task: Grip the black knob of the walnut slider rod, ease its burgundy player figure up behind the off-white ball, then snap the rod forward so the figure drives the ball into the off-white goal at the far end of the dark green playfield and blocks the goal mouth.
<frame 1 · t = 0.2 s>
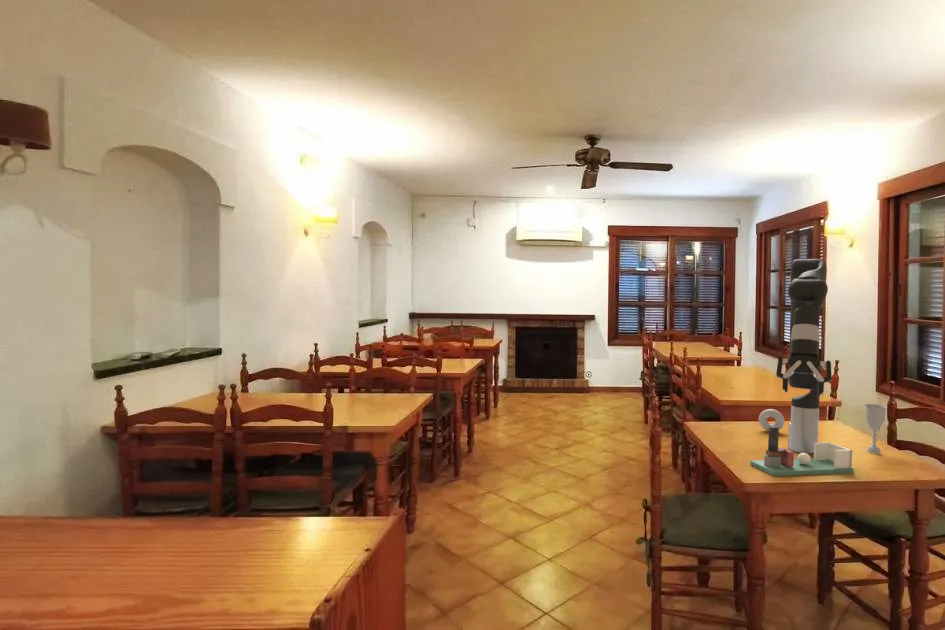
hand: (802, 393, 168), 31 cm above the table, tool tilted 20°, fingers open, 8 cm apart
playfield: (801, 468, 195), on the table
donut: (770, 432, 246), on the table
chalice: (873, 452, 216), on the table
slider rod: (778, 445, 193), point 8 cm above the table, slide at 0.0 cm
ball: (804, 458, 195), point 3 cm above the table, touching playfield
goal: (832, 467, 197), resting on playfield
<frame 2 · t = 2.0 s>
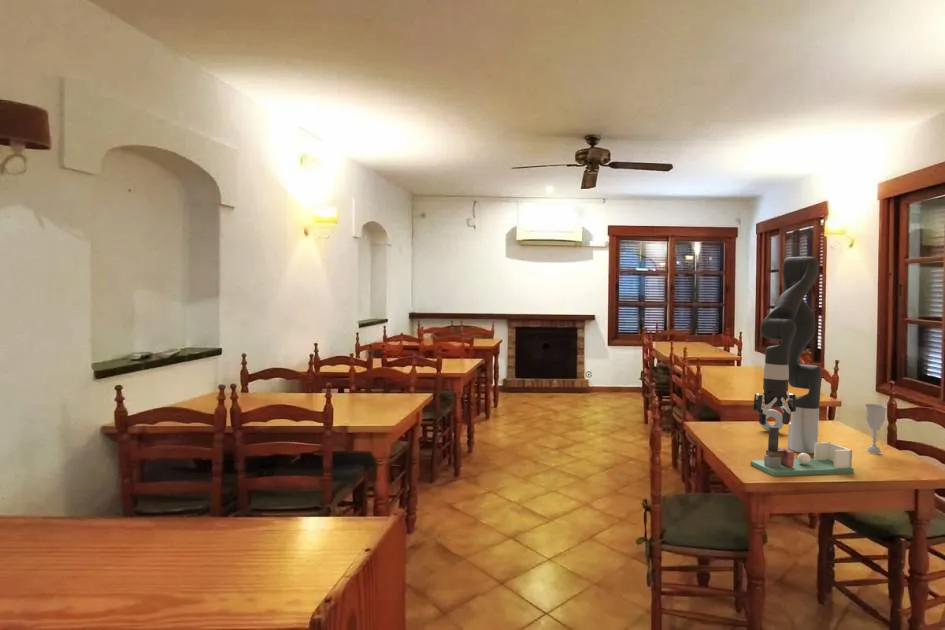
hand: (773, 424, 193), 16 cm above the table, tool pointing down, fingers open, 8 cm apart
nothing on the table moved.
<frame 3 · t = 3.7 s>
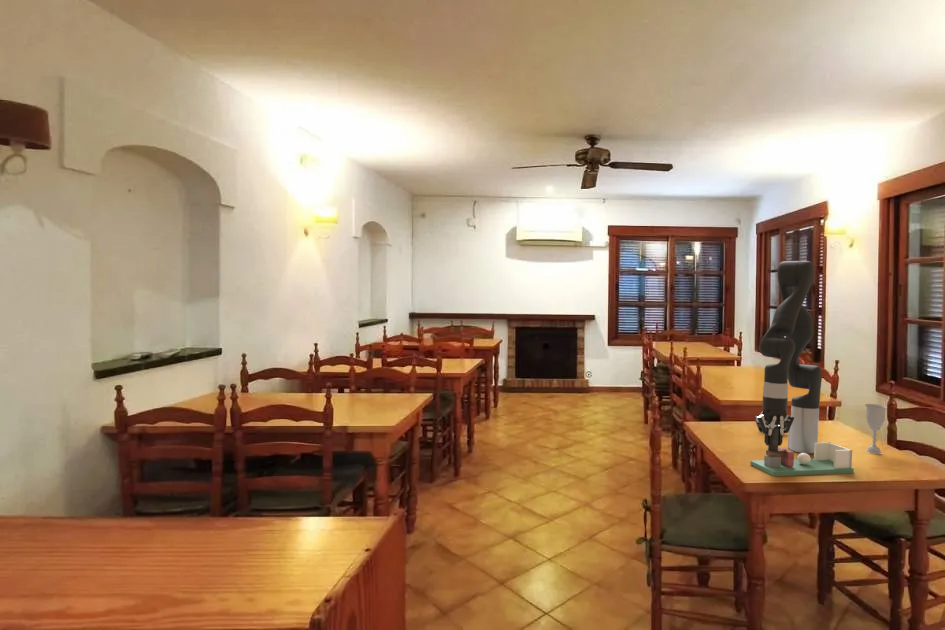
hand: (773, 445, 193), 9 cm above the table, tool pointing down, fingers closed on slider rod, 3 cm apart
slider rod: (778, 445, 193), point 8 cm above the table, slide at 0.0 cm, touching gripper
everything else where it was.
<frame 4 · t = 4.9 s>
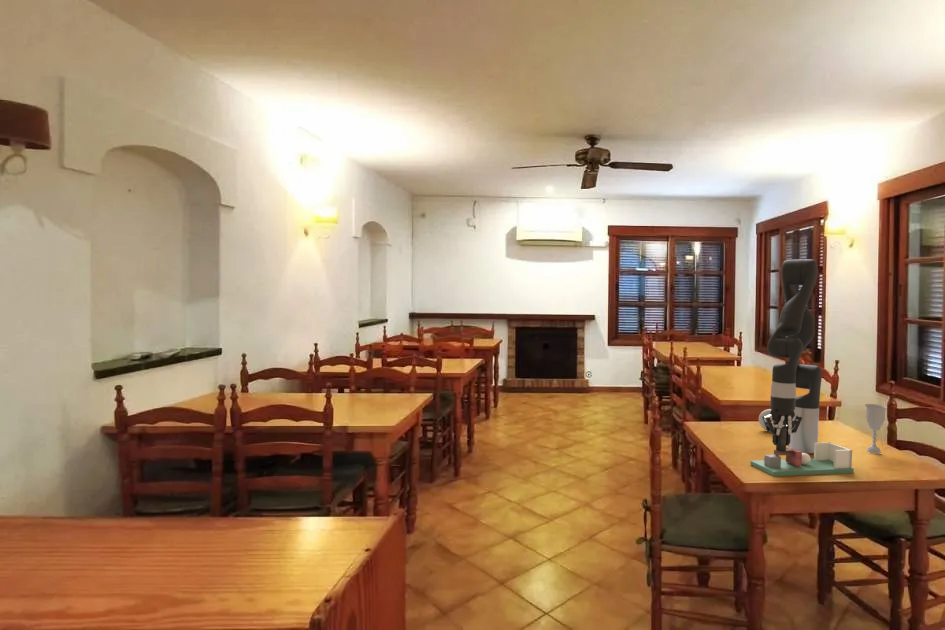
hand: (781, 444, 194), 9 cm above the table, tool pointing down, fingers closed on slider rod, 3 cm apart
slider rod: (786, 445, 194), point 8 cm above the table, slide at 3.0 cm, touching gripper
everything else where it was.
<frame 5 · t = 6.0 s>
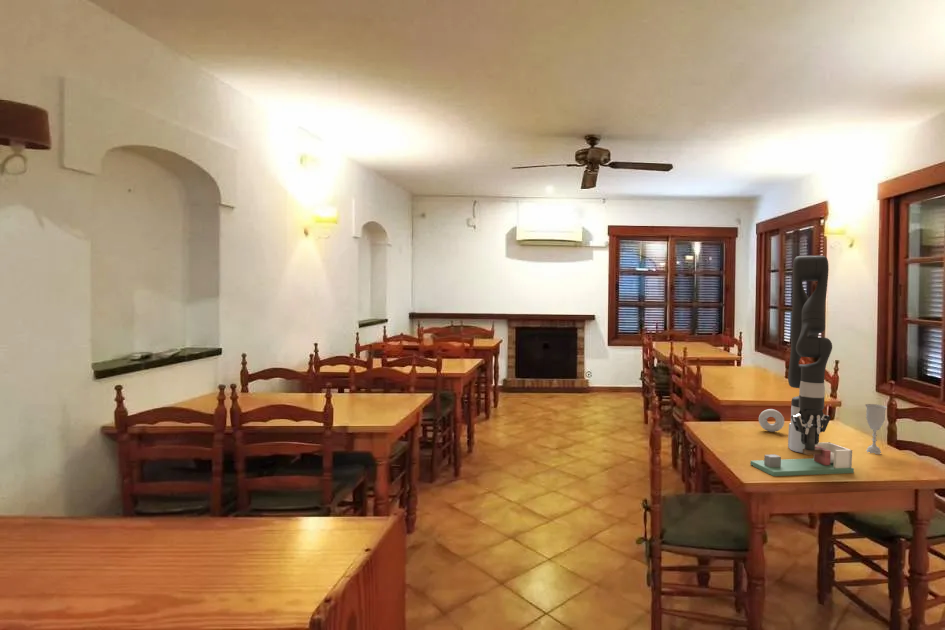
hand: (809, 443, 195), 9 cm above the table, tool pointing down, fingers closed on slider rod, 3 cm apart
slider rod: (815, 444, 196), point 8 cm above the table, slide at 14.0 cm, touching gripper
ball: (830, 457, 197), point 3 cm above the table, tilted 76°, touching playfield
everything else where it was.
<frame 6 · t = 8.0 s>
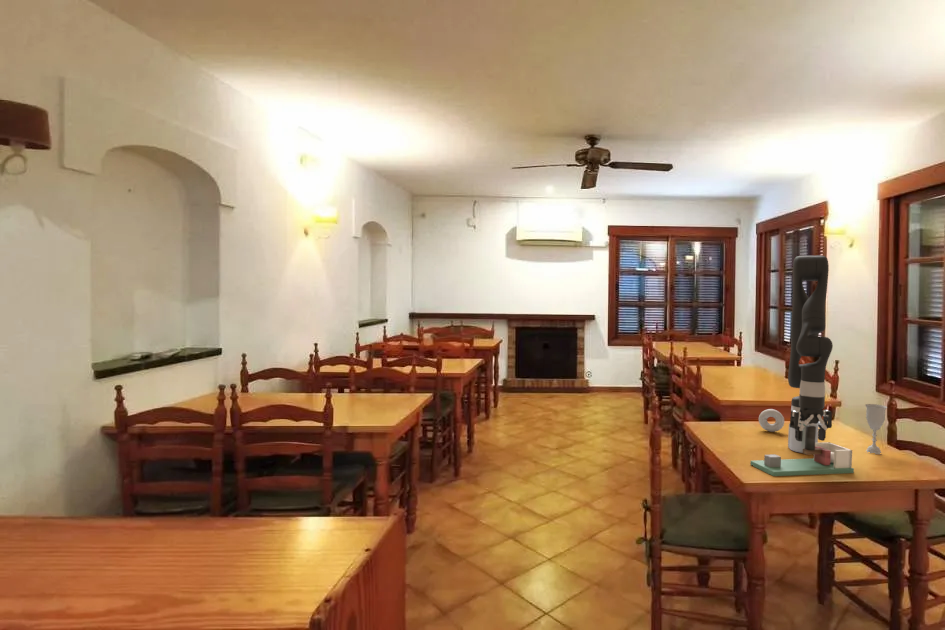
hand: (810, 440, 195), 10 cm above the table, tool pointing down, fingers open, 8 cm apart
slider rod: (815, 444, 196), point 8 cm above the table, slide at 14.0 cm
ball: (832, 457, 197), point 3 cm above the table, tilted 54°, touching playfield
everything else where it was.
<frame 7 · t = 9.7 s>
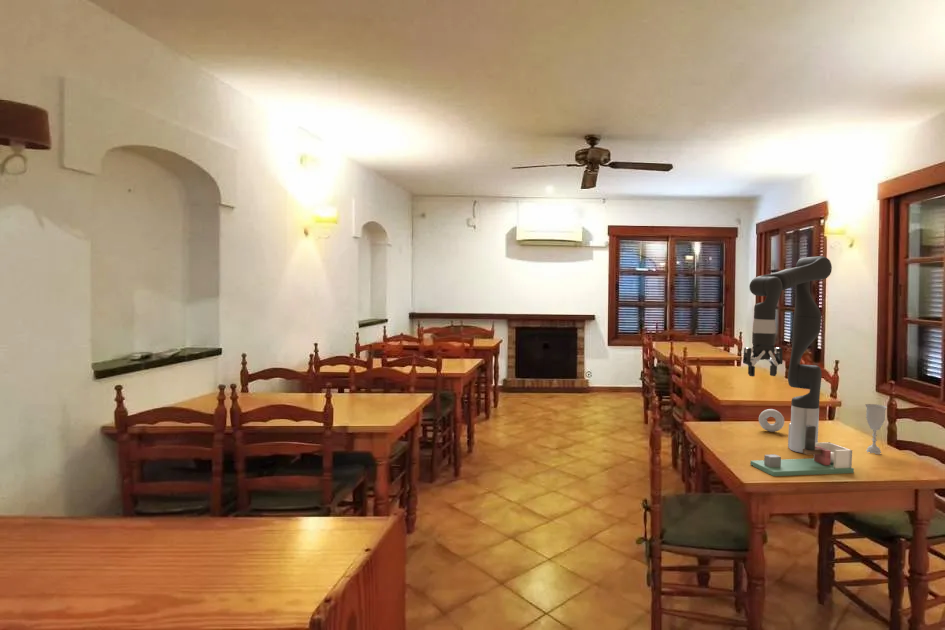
hand: (762, 376, 206), 30 cm above the table, tool pointing down, fingers open, 8 cm apart
nothing on the table moved.
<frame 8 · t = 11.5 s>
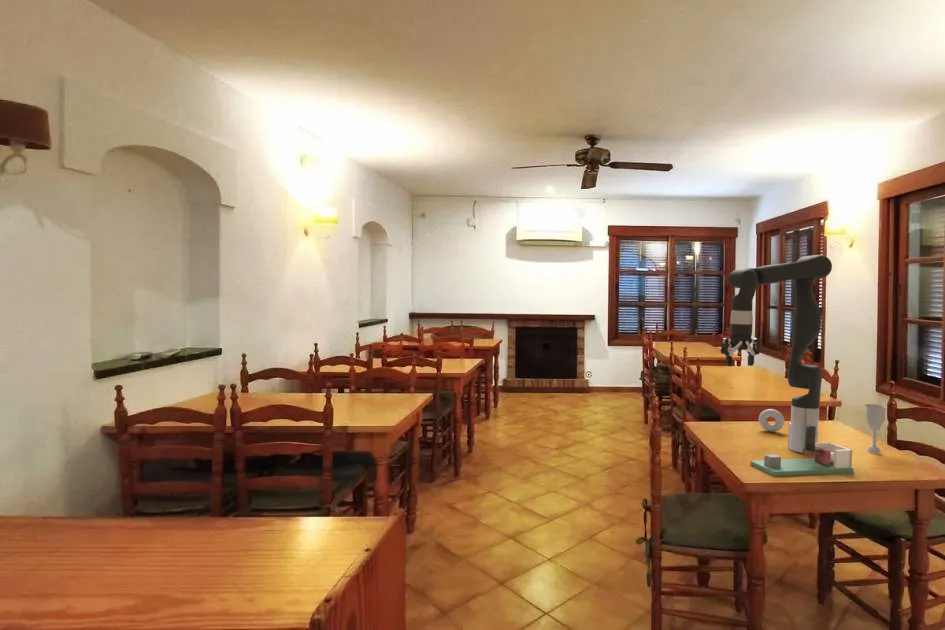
hand: (739, 365, 212), 33 cm above the table, tool pointing down, fingers open, 8 cm apart
ball: (831, 457, 197), point 3 cm above the table, tilted 65°, touching playfield
everything else where it was.
at the end: ball inside the target area (0.3 cm from its centre), point 3.5 cm above the table; slider rod slide at 14.0 cm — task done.
